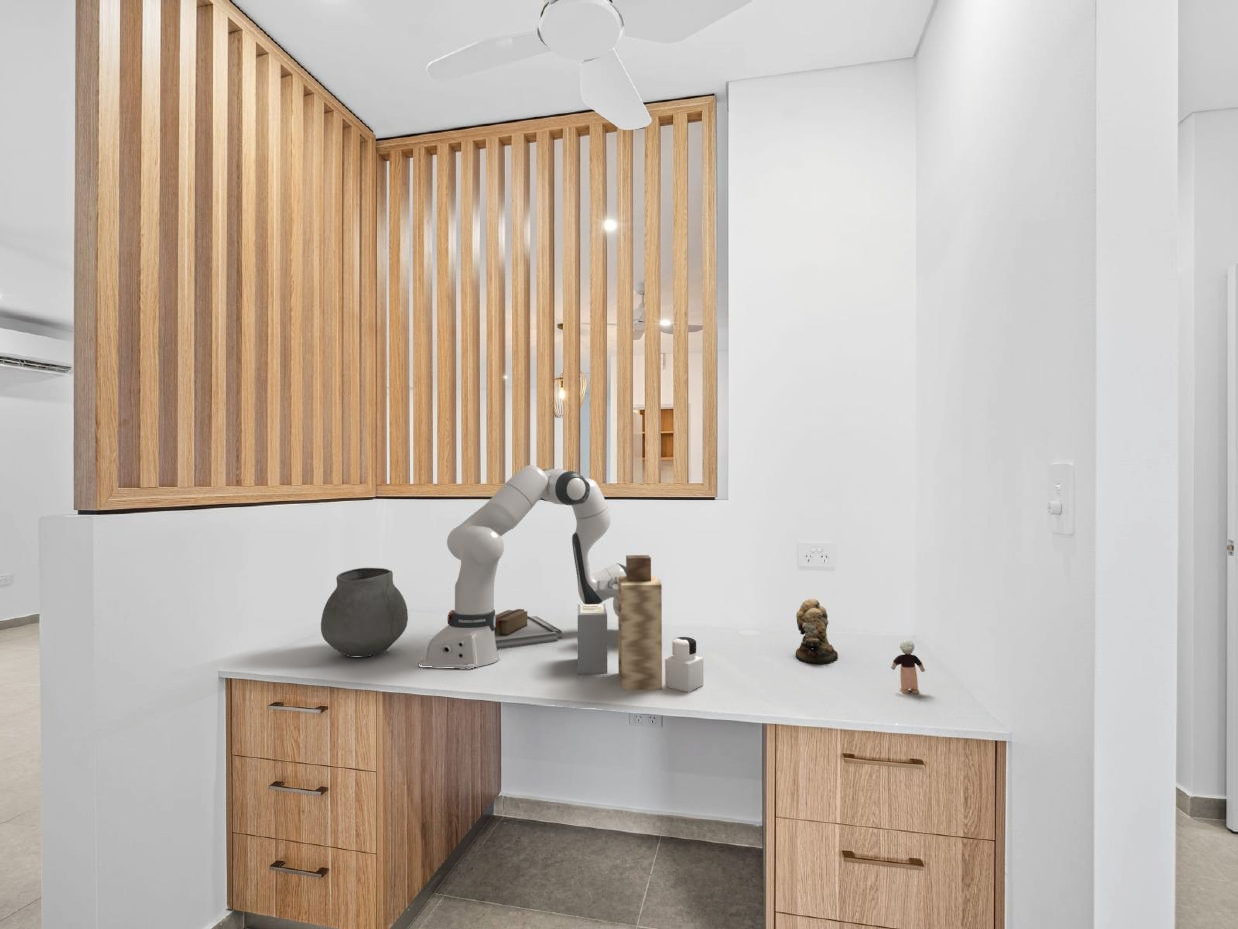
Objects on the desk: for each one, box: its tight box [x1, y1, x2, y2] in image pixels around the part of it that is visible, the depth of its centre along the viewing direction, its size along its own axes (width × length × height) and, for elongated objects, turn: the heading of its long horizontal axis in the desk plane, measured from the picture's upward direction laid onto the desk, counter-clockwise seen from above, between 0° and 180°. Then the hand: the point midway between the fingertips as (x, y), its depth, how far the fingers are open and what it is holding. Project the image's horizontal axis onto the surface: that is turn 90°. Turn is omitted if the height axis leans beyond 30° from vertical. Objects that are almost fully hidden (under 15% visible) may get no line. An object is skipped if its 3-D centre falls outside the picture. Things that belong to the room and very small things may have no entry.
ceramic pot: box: [320, 567, 409, 657], centre depth 190 cm, size 24×24×25 cm
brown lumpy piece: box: [795, 598, 839, 665], centre depth 186 cm, size 18×12×17 cm, turn 159°
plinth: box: [577, 603, 608, 675], centre depth 177 cm, size 8×14×16 cm, turn 4°
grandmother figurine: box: [890, 639, 926, 694], centre depth 155 cm, size 8×4×13 cm, turn 92°
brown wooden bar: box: [625, 554, 652, 582], centre depth 172 cm, size 6×18×6 cm, turn 4°
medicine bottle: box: [664, 636, 704, 693], centre depth 160 cm, size 7×7×12 cm
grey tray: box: [494, 608, 563, 650], centre depth 212 cm, size 30×30×8 cm
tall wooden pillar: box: [617, 575, 663, 691], centre depth 164 cm, size 10×14×26 cm
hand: (630, 578), depth 192 cm, fingers open, 8 cm apart
